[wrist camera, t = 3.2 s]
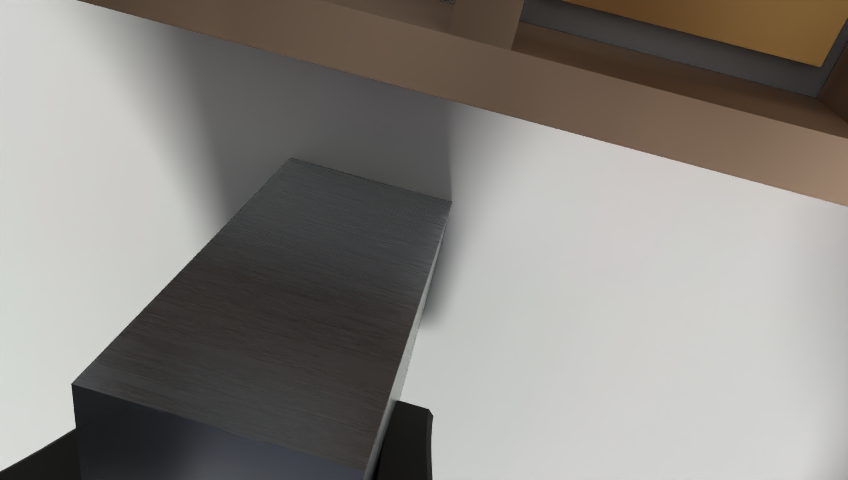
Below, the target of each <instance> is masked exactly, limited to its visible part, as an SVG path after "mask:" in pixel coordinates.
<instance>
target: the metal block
mask: <svg viewBox="0 0 848 480" xmlns="http://www.w3.org/2000/svg"><path fill="white" fill-rule="evenodd" d="M451 205H452V202H449V201H445V200H442V199H438V198H434V197H431V196H427V195H423V194H420V193H416V192H413V191H409V190H405V189H402V188H398V187H394V186H391V185H387V184H384V183H380V182H376V181H373V180H369V179H365V178H362V177H358V176H355V175H351V174H347V173H344V172H340V171H336V170H333V169H329V168H326V167H322V166H318V165H315V164H311V163H307V162H304V161H300V160H297V159H293V158H290V159H289V160H288V161H287V162H286V163H285V164H284V165H283V166H282V167H281V168H280V169H279V170H278V171H277V173H276V174H275V175H274V176H273V177H272V178H271V179H270V180H269V181H268V182H267V183H266V184H265V185H264V186H263V187H262V188H261V189H260V190H259V191H258V192H257V193H256V194H255V195H254V196H253V197H252V198H251V199H250V200H249V201H248V202H247V203H246V204H245V205H244V206H243V208H242V209H241V210H240V211H239V212H238V213H237V214H236V215H235V216H234V217H233V218H232V219H231V220H230V221H229V222H228V223H227V224H226V225H225V226H224V227H223V228H222V229H221V230H220V231H219V232H218V233H217V234H216V235H215V236H214V237H213V238H212V239H211V240H210V242H209V243H208V244H207V245H206V246H205V247H204V248H203V249H202V250H201V251H200V252H199V253H198V254H197V255H196V256H195V257H194V258H193V259H192V260H191V261H190V262H189V263H188V264H187V265H186V266H185V267H184V268H183V269H182V270H181V271H180V272H179V273H178V274H177V275H176V277H175V278H174V279H173V280H172V281H171V282H170V283H169V284H168V285H167V286H166V287H165V288H164V289H163V290H162V291H161V292H160V293H159V294H158V295H157V296H156V297H155V298H154V299H153V300H152V301H151V302H150V303H149V304H148V305H147V306H146V307H145V308H144V309H143V311H142V312H141V313H140V314H139V315H138V316H137V317H136V318H135V319H134V320H133V321H132V322H131V323H130V324H129V325H128V326H127V327H126V328H125V329H124V330H123V331H122V332H121V333H120V334H119V335H118V336H117V337H116V338H115V339H114V340H113V341H112V342H111V343H110V344H109V346H108V347H107V348H106V349H105V350H104V351H103V352H102V353H101V354H100V355H99V356H98V357H97V358H96V359H95V360H94V361H93V362H92V363H91V364H90V365H89V366H88V367H87V368H86V369H85V370H84V371H83V372H82V373H81V374H80V375H79V376H78V377H77V378H76V380H75V381H74V382H73V383H72V384H71V385H72V394H73V404H74V413H75V423H76V432H77V442H78V451H79V461H80V470H81V480H374V476H375V473H376V469H377V465H378V461H379V457H380V453H381V450H382V446H383V442H384V438H385V435H386V432H387V429H388V425H389V422H390V419H391V416H392V413H393V410H394V407H395V404H396V401H397V400H400V396H401V392H402V389H403V385H404V381H405V377H406V374H407V370H408V366H409V362H410V359H411V355H412V351H413V347H414V344H415V340H416V336H417V332H418V329H419V325H420V321H421V317H422V314H423V310H424V306H425V302H426V299H427V295H428V291H429V287H430V284H431V280H432V276H433V272H434V269H435V265H436V261H437V257H438V254H439V250H440V246H441V242H442V239H443V235H444V231H445V227H446V224H447V220H448V216H449V212H450V209H451Z"/></svg>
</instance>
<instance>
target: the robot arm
mask: <svg viewBox="0 0 848 480" xmlns="http://www.w3.org/2000/svg"><path fill="white" fill-rule="evenodd" d="M432 421H433V415H432V413H431V412H430V410H429V409H426V408H422V407H419V406H416V405H412V404H409V403H405V402H402V401H399V400H397V401H396V404H395V407H394V410H393V413H392V416H391V419H390V422H389V425H388V429H387V432H386V435H385V438H384V442H383V446H382V450H381V453H380V457H379V461H378V465H377V469H376V473H375V476H374V480H432V461H431V434H432ZM0 480H81V470H80V461H79V451H78V442H77V432H76V428H75V429H73V430H72V431H70V432H68V433H67V434H65V435H64V436H62V437H60V438H59V439H57V440H55V441H54V442H52V443H50V444H49V445H47V446H45V447H44V448H42V449H40V450H38V451H37V452H35V453H33V454H31V455H30V456H28V457H26V458H24V459H22V460H21V461H19V462H17V463H15V464H13V465H12V466H10V467H8V468H6V469H4V470H2V471H0Z"/></svg>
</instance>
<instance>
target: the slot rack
mask: <svg viewBox="0 0 848 480" xmlns="http://www.w3.org/2000/svg"><path fill="white" fill-rule="evenodd" d="M78 1H82V2H86V3H90V4H93V5H97V6H101V7H105V8H108V9H112V10H116V11H120V12H123V13H127V14H131V15H134V16H138V17H142V18H146V19H149V20H153V21H157V22H161V23H164V24H168V25H172V26H176V27H179V28H183V29H187V30H190V31H194V32H198V33H202V34H205V35H209V36H213V37H217V38H220V39H224V40H228V41H232V42H235V43H239V44H243V45H246V46H250V47H254V48H258V49H261V50H265V51H269V52H273V53H276V54H280V55H284V56H288V57H291V58H295V59H299V60H302V61H306V62H310V63H314V64H317V65H321V66H325V67H329V68H332V69H336V70H340V71H344V72H347V73H351V74H355V75H358V76H362V77H366V78H370V79H373V80H377V81H381V82H385V83H388V84H392V85H396V86H400V87H403V88H407V89H411V90H414V91H418V92H422V93H426V94H429V95H433V96H437V97H441V98H444V99H448V100H452V101H456V102H459V103H463V104H467V105H470V106H474V107H478V108H482V109H485V110H489V111H493V112H497V113H500V114H504V115H508V116H512V117H515V118H519V119H523V120H526V121H530V122H534V123H538V124H541V125H545V126H549V127H553V128H556V129H560V130H564V131H568V132H571V133H575V134H579V135H582V136H586V137H590V138H594V139H597V140H601V141H605V142H609V143H612V144H616V145H620V146H624V147H627V148H631V149H635V150H638V151H642V152H646V153H650V154H653V155H657V156H661V157H665V158H668V159H672V160H676V161H680V162H683V163H687V164H691V165H694V166H698V167H702V168H706V169H709V170H713V171H717V172H721V173H724V174H728V175H732V176H736V177H739V178H743V179H747V180H750V181H754V182H758V183H762V184H765V185H769V186H773V187H777V188H780V189H784V190H788V191H792V192H795V193H799V194H803V195H806V196H810V197H814V198H818V199H821V200H825V201H829V202H833V203H836V204H840V205H844V206H848V42H847V44H846V46H845V47H844V49H843V51H842V53H841V55H840V56H839V58H838V60H837V62H836V64H835V66H834V67H833V69H832V71H831V73H830V75H829V76H828V78H827V80H826V82H825V84H824V85H823V87H822V89H821V91H820V93H819V95H818V96H817V98H813V97H810V96H806V95H802V94H798V93H794V92H790V91H787V90H783V89H779V88H775V87H771V86H767V85H763V84H760V83H756V82H752V81H748V80H744V79H740V78H737V77H733V76H729V75H725V74H721V73H717V72H714V71H710V70H706V69H702V68H698V67H694V66H690V65H687V64H683V63H679V62H675V61H671V60H667V59H664V58H660V57H656V56H652V55H648V54H644V53H641V52H637V51H633V50H629V49H625V48H621V47H617V46H614V45H610V44H606V43H602V42H598V41H594V40H591V39H587V38H583V37H579V36H575V35H571V34H567V33H564V32H560V31H556V30H552V29H548V28H544V27H541V26H537V25H533V24H529V23H525V22H521V21H519V19H520V16H521V12H522V9H523V5H524V1H525V0H455V4H452V3H448V2H444V1H441V0H78ZM561 1H565V2H569V3H573V4H577V5H581V6H585V7H588V8H592V9H596V10H600V11H604V12H608V13H612V14H616V15H620V16H623V17H627V18H631V19H635V20H639V21H643V22H647V23H651V24H654V25H658V26H662V27H666V28H670V29H674V30H678V31H682V32H685V33H689V34H693V35H697V36H701V37H705V38H709V39H713V40H717V41H720V42H724V43H728V44H732V45H736V46H740V47H744V48H748V49H751V50H755V51H759V52H763V53H767V54H771V55H775V56H779V57H782V58H786V59H790V60H794V61H798V62H802V63H806V64H810V65H814V66H817V67H821V66H822V64H823V62H824V60H825V58H826V56H827V55H828V53H829V51H830V49H831V47H832V45H833V44H834V42H835V40H836V38H837V36H838V34H839V32H840V31H841V29H842V27H843V25H844V23H845V21H846V20H847V18H848V0H561Z"/></svg>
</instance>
